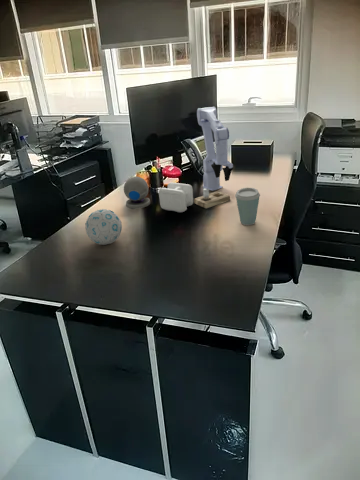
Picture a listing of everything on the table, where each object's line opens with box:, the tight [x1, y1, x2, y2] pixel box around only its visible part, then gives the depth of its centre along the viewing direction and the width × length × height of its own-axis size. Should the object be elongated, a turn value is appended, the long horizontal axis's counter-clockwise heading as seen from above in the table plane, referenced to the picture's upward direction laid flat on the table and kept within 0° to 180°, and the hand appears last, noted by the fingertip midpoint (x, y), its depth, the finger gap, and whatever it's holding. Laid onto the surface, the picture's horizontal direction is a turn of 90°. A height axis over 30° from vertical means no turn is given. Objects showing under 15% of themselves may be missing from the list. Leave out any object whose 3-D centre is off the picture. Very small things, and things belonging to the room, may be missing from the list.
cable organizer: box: [158, 181, 194, 213], centre depth 182 cm, size 15×11×12 cm
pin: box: [202, 188, 210, 201], centre depth 185 cm, size 3×3×8 cm
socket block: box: [193, 190, 231, 209], centre depth 188 cm, size 10×16×2 cm, turn 125°
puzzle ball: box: [85, 208, 123, 246], centre depth 153 cm, size 15×15×15 cm
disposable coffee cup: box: [234, 187, 261, 226], centre depth 160 cm, size 11×11×15 cm
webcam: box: [123, 176, 151, 210], centre depth 190 cm, size 13×13×15 cm
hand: (222, 178), depth 188 cm, fingers open, 7 cm apart
